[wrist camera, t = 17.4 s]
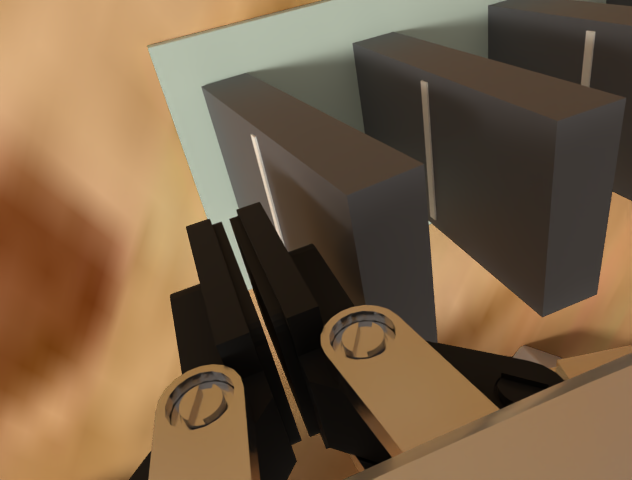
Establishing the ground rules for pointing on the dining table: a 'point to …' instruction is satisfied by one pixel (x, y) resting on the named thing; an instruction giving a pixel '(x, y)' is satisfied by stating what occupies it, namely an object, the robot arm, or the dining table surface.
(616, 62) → the domino
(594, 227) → the domino
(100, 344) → the dining table surface
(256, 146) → the domino
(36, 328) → the dining table surface
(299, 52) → the mat
